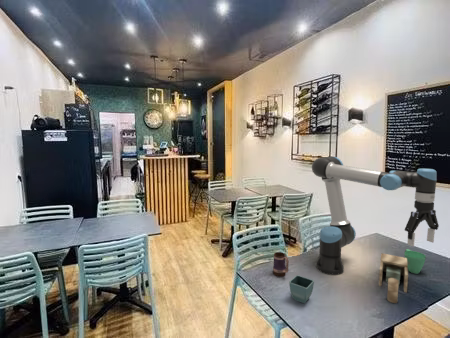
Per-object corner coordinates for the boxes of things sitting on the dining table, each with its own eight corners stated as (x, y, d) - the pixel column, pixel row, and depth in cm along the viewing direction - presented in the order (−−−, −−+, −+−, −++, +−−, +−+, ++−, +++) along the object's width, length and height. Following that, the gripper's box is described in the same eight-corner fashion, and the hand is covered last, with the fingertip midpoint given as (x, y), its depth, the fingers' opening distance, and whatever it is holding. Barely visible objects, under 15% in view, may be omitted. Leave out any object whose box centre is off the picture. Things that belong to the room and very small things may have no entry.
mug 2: (428, 276, 143) (429, 259, 142) (408, 275, 145) (409, 257, 144) (414, 264, 158) (415, 247, 156) (396, 262, 160) (397, 246, 158)
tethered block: (384, 300, 123) (385, 280, 122) (386, 276, 144) (387, 259, 143) (399, 304, 120) (401, 283, 118) (399, 279, 140) (400, 261, 139)
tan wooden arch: (378, 285, 135) (379, 267, 134) (380, 269, 151) (381, 253, 150) (406, 292, 129) (408, 273, 128) (405, 275, 145) (406, 257, 144)
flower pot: (296, 291, 131) (296, 274, 130) (314, 298, 125) (314, 280, 124) (288, 300, 124) (288, 282, 123) (306, 307, 119) (307, 288, 118)
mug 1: (270, 272, 150) (270, 252, 148) (280, 269, 153) (280, 249, 151) (281, 281, 141) (282, 259, 139) (292, 278, 144) (292, 256, 142)
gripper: (413, 205, 119) (409, 250, 122) (450, 200, 128) (446, 242, 130) (398, 201, 126) (394, 243, 129) (433, 197, 135) (430, 237, 137)
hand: (420, 243), depth 130 cm, fingers open, 13 cm apart
